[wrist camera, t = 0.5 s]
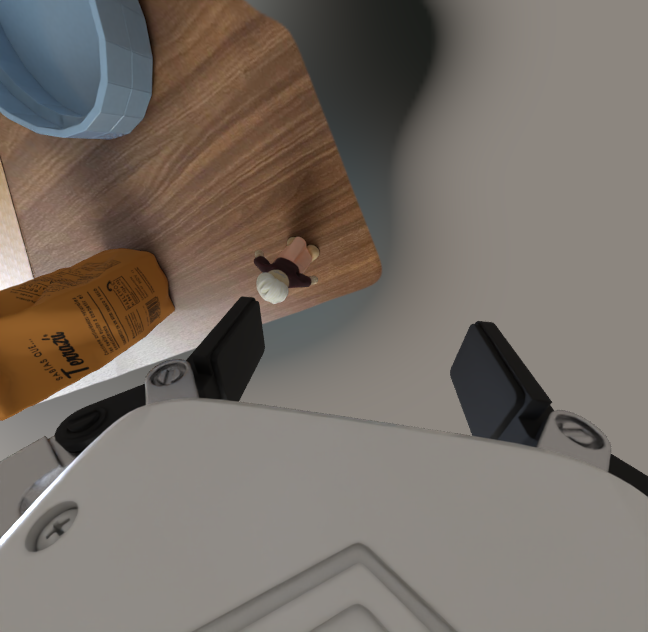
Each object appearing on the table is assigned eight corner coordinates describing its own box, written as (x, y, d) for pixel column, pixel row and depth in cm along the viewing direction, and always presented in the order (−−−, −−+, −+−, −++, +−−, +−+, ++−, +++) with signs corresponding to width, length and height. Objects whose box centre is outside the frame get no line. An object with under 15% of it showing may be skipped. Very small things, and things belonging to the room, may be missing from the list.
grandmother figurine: (329, 242, 32) (311, 287, 22) (322, 269, 35) (303, 321, 24) (272, 226, 32) (227, 264, 22) (269, 254, 34) (227, 300, 24)
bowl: (-79, -139, 20) (-225, -234, 15) (123, -120, 19) (39, -213, 14) (36, 127, 30) (-29, 123, 25) (173, 148, 29) (134, 148, 24)
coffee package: (129, 310, 44) (-34, 422, 26) (99, 241, 37) (-153, 328, 19) (182, 318, 44) (52, 439, 25) (161, 249, 36) (-39, 348, 18)
